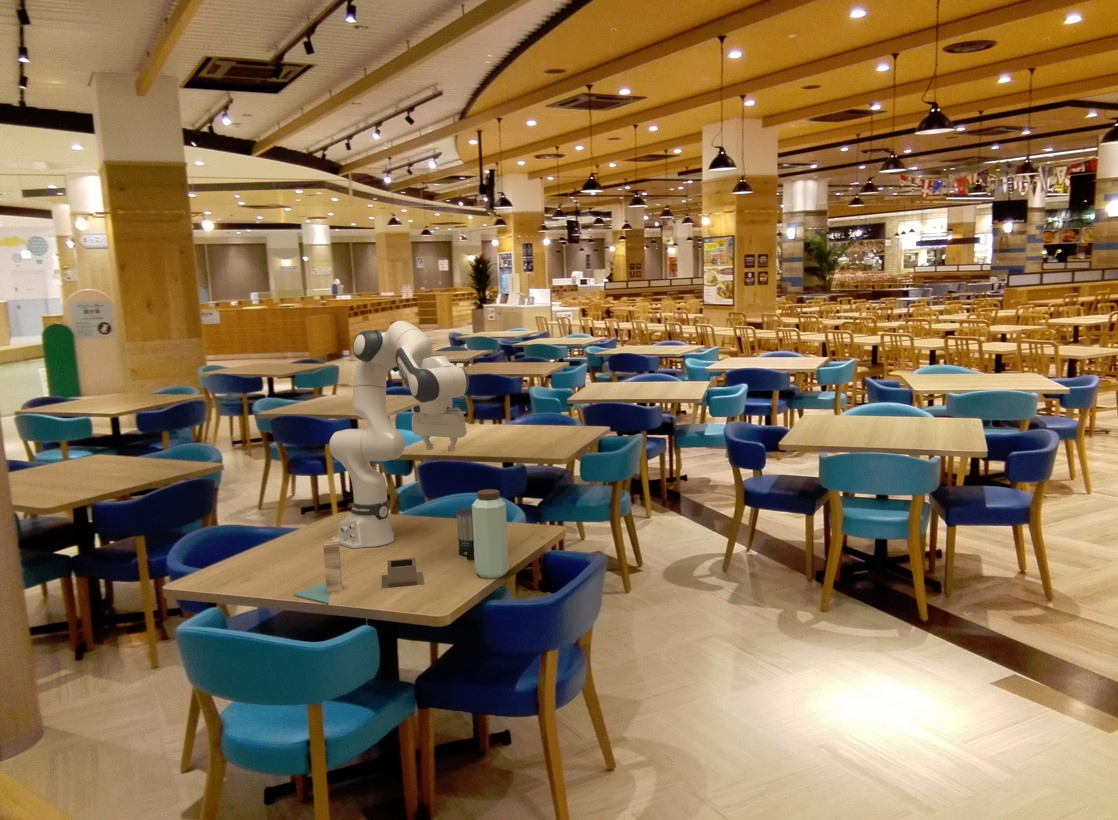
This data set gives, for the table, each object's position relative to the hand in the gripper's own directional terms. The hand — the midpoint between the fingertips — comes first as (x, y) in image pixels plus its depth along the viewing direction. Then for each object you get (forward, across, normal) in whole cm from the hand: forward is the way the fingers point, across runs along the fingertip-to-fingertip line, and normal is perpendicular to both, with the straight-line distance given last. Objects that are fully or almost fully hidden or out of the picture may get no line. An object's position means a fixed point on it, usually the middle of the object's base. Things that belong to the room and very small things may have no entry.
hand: (440, 450), depth 274 cm
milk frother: (+35, -8, -8) cm, 36 cm away
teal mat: (+34, +5, +42) cm, 54 cm away
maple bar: (+34, +5, +42) cm, 54 cm away
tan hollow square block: (+34, -7, +26) cm, 44 cm away
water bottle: (+35, -24, +7) cm, 43 cm away
